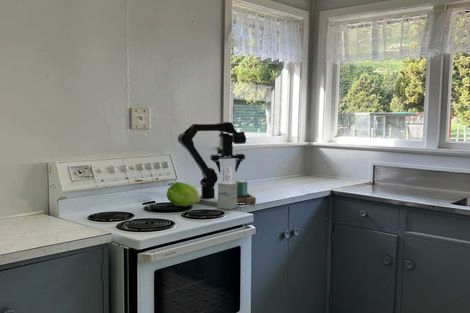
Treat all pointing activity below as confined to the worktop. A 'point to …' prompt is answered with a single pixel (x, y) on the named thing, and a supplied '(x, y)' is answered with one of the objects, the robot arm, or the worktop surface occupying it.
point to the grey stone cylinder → (227, 195)
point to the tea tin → (241, 189)
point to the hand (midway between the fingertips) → (227, 172)
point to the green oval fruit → (183, 194)
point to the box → (247, 199)
